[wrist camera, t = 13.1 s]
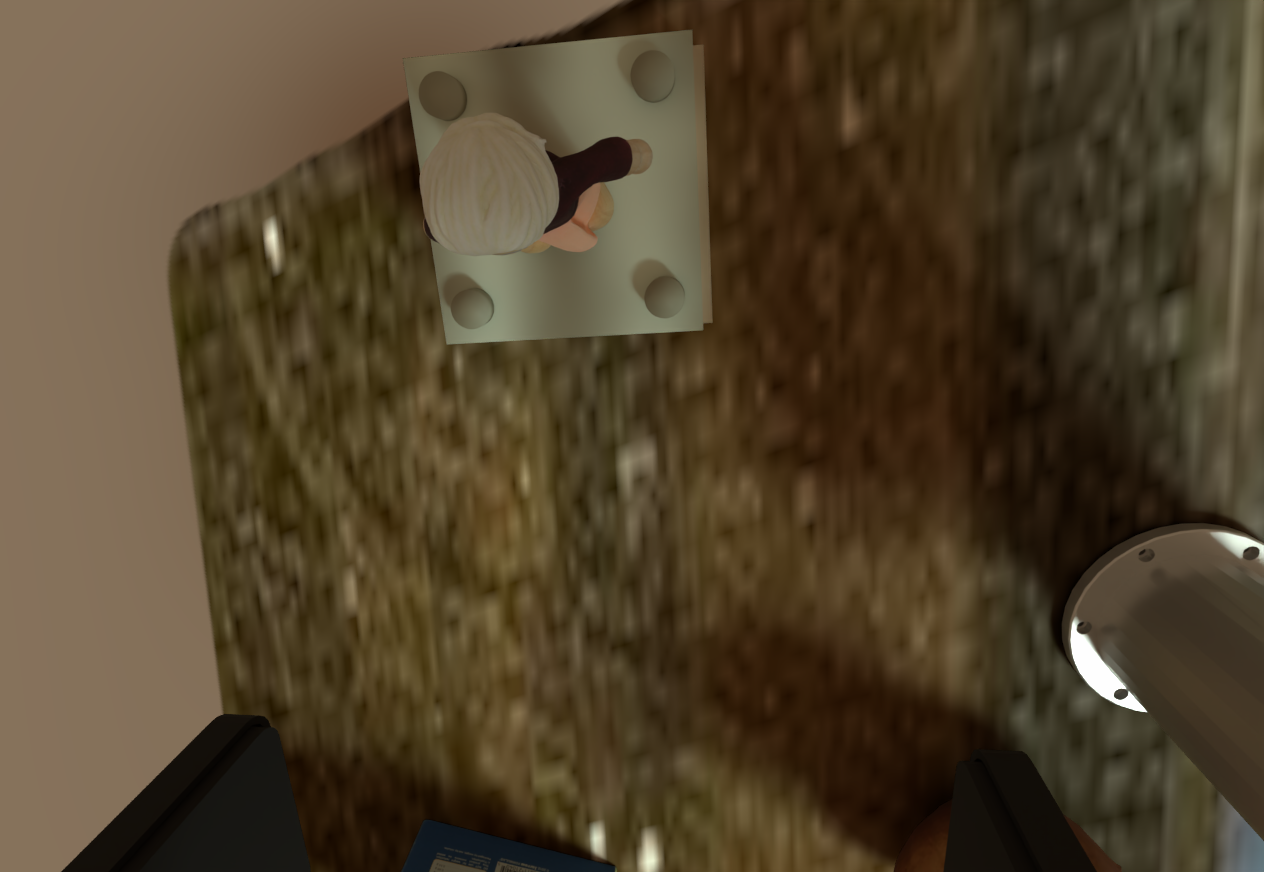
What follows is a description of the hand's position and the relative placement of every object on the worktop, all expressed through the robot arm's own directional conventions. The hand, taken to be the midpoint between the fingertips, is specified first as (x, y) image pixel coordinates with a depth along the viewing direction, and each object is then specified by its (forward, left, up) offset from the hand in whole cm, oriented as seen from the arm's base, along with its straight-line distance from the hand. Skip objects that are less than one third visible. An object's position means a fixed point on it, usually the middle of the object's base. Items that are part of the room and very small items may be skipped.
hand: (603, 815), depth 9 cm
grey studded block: (+4, -9, -31) cm, 33 cm away
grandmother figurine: (+3, -8, -21) cm, 23 cm away
